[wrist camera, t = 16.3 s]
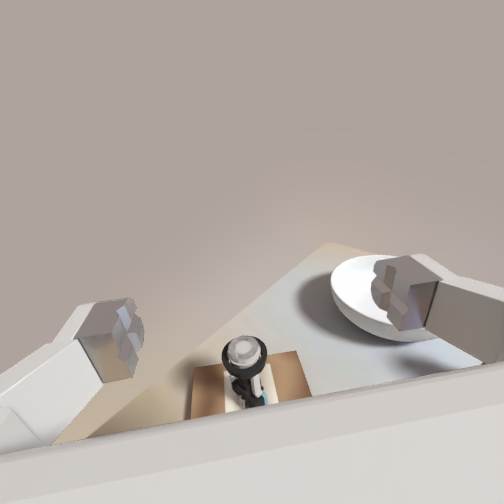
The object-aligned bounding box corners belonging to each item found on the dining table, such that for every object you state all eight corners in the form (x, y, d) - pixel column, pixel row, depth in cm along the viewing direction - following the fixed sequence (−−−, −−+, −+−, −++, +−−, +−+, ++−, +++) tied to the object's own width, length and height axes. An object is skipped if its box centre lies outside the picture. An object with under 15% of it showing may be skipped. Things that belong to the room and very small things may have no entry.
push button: (217, 393, 36) (204, 342, 32) (246, 369, 39) (238, 318, 35) (250, 429, 32) (241, 376, 27) (279, 398, 35) (276, 345, 30)
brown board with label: (189, 480, 29) (184, 469, 28) (195, 374, 41) (192, 363, 40) (328, 452, 30) (329, 440, 29) (296, 357, 42) (296, 346, 41)
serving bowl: (473, 377, 37) (490, 342, 34) (320, 342, 44) (321, 311, 41) (442, 289, 53) (451, 260, 50) (335, 275, 61) (337, 249, 58)
